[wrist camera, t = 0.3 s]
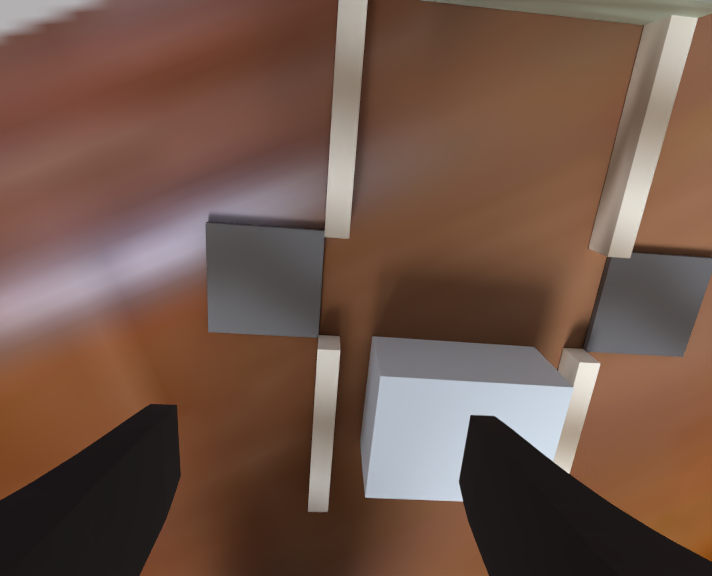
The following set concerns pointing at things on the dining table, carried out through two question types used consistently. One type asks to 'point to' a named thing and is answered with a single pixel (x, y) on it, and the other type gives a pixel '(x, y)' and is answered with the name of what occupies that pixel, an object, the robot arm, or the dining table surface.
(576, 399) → the trap lane
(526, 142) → the dining table surface
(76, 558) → the robot arm
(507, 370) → the block
